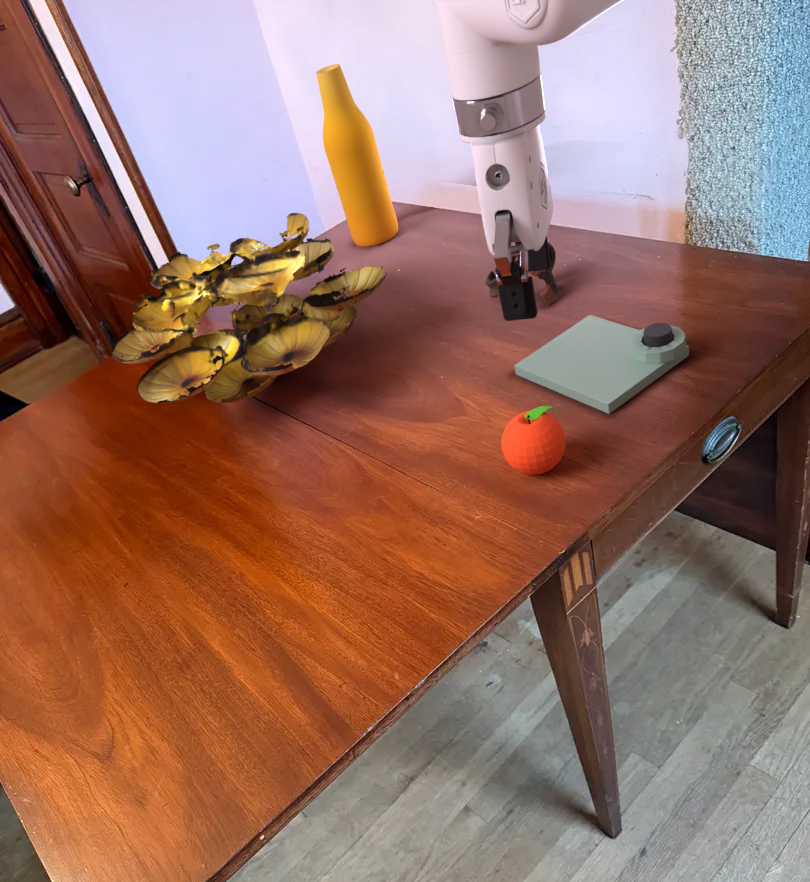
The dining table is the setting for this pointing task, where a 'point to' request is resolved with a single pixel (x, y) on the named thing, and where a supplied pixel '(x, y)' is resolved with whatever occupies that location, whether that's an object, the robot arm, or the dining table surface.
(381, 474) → the dining table surface
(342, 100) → the beer bottle
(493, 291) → the broken mug
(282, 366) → the mushroom
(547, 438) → the clementine
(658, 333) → the tare button
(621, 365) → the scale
